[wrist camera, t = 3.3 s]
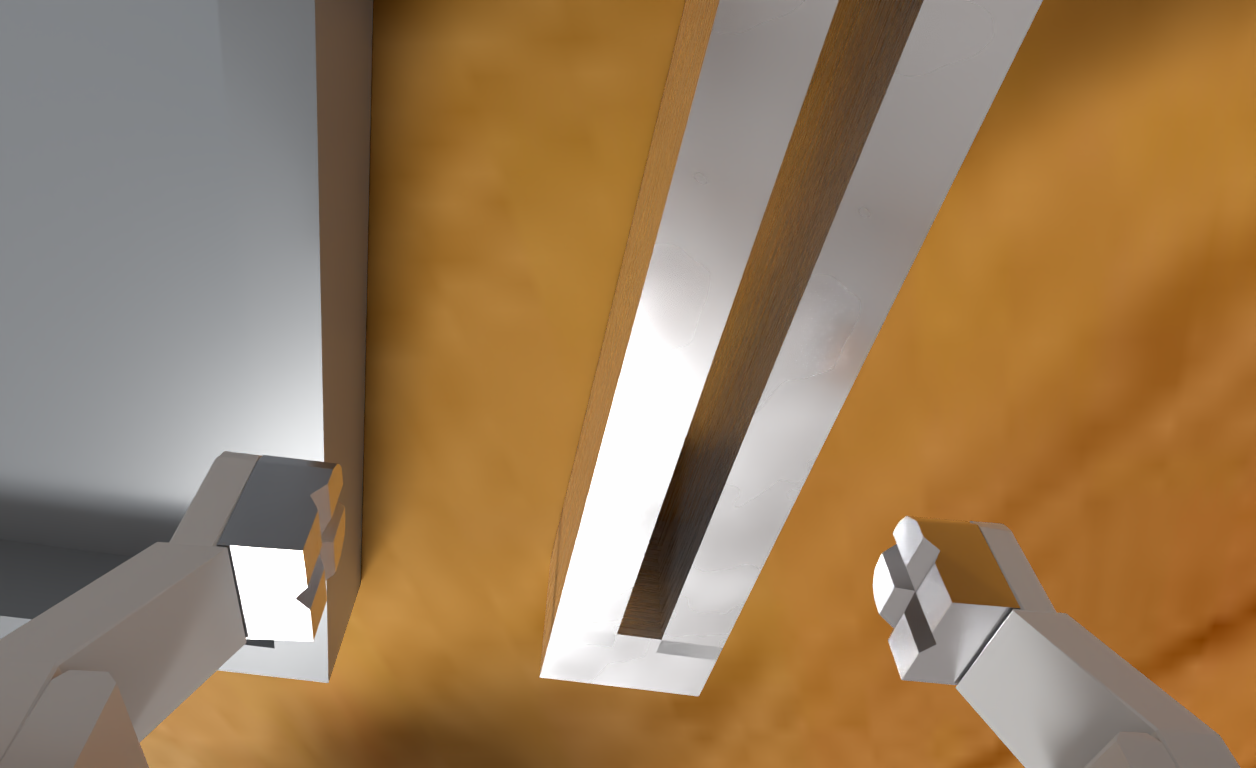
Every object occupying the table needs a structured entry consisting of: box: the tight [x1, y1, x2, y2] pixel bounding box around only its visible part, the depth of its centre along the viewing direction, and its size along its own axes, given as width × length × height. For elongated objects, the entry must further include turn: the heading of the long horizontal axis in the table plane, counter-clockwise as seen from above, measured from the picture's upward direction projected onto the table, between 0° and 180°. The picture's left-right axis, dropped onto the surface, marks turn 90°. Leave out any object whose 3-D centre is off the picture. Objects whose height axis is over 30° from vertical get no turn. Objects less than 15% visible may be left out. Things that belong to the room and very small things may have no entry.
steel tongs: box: [540, 0, 1043, 696], centre depth 14 cm, size 4×20×4 cm, turn 168°
